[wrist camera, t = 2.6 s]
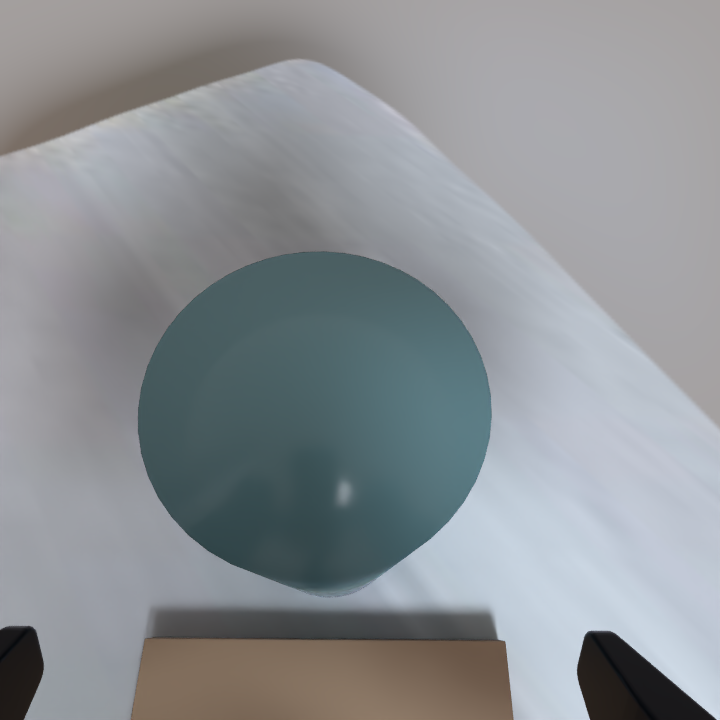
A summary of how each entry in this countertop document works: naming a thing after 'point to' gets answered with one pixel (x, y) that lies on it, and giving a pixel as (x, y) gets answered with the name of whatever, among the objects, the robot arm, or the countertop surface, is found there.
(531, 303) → the countertop surface
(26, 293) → the countertop surface
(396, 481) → the cylinder
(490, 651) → the walnut board
